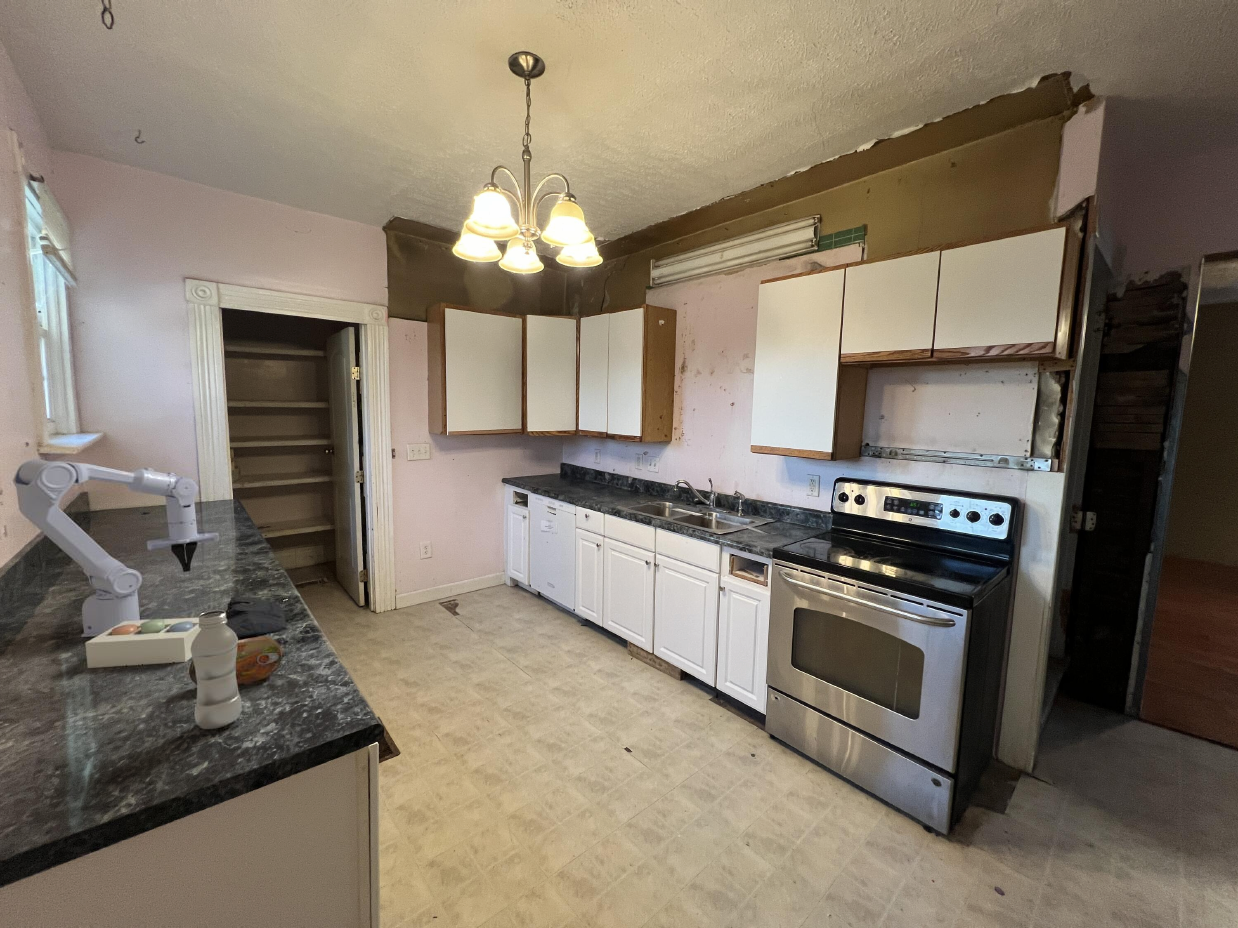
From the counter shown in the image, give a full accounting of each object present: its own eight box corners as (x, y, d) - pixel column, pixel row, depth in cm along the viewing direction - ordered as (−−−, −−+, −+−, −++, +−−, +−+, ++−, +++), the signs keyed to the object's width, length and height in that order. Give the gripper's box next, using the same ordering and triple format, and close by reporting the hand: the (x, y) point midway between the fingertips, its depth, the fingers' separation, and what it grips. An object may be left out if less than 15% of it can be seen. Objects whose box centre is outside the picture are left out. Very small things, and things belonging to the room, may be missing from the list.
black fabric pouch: (212, 648, 120) (210, 628, 119) (210, 616, 137) (209, 599, 136) (290, 631, 129) (289, 613, 129) (279, 603, 146) (279, 587, 146)
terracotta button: (107, 644, 112) (106, 632, 112) (121, 636, 116) (120, 624, 116) (129, 643, 113) (128, 631, 113) (142, 635, 117) (141, 623, 117)
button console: (87, 667, 109) (85, 642, 109) (126, 644, 120) (124, 621, 119) (185, 661, 113) (183, 637, 112) (214, 639, 123) (213, 616, 123)
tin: (190, 693, 101) (186, 652, 100) (194, 685, 104) (191, 645, 103) (282, 676, 108) (280, 637, 107) (283, 669, 110) (281, 631, 109)
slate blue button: (166, 641, 115) (165, 629, 114) (177, 633, 118) (176, 621, 118) (186, 640, 115) (185, 628, 115) (197, 632, 119) (196, 620, 119)
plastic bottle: (211, 712, 95) (204, 607, 92) (251, 711, 95) (244, 606, 93) (185, 735, 88) (176, 622, 86) (228, 734, 89) (220, 621, 87)
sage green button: (136, 639, 113) (135, 626, 113) (149, 631, 117) (148, 619, 117) (157, 638, 114) (156, 625, 114) (169, 630, 118) (168, 618, 118)
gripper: (143, 528, 130) (149, 580, 132) (216, 520, 139) (220, 569, 141) (146, 522, 136) (152, 572, 138) (216, 515, 145) (221, 562, 146)
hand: (187, 570), depth 140 cm, fingers closed
